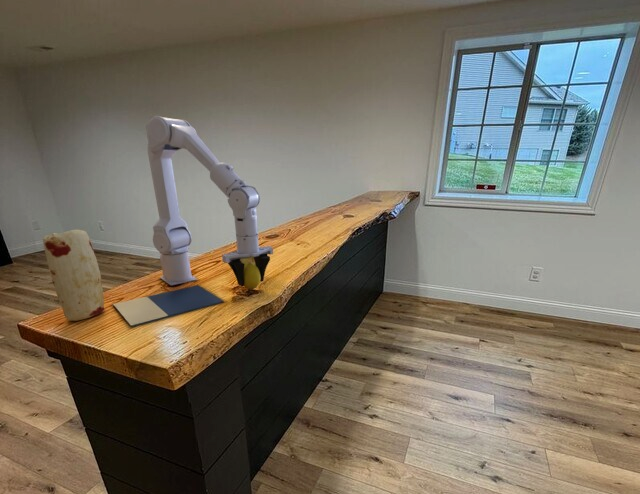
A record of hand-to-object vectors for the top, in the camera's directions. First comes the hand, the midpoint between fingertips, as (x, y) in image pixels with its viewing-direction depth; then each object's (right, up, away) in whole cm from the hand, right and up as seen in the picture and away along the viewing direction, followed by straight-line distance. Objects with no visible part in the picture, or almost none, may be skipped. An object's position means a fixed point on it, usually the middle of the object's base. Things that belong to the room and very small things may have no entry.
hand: (250, 283), depth 97 cm
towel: (-19, -6, -9) cm, 22 cm away
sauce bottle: (-4, +4, +16) cm, 17 cm away
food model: (-35, -9, -16) cm, 39 cm away
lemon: (0, -2, +1) cm, 2 cm away
